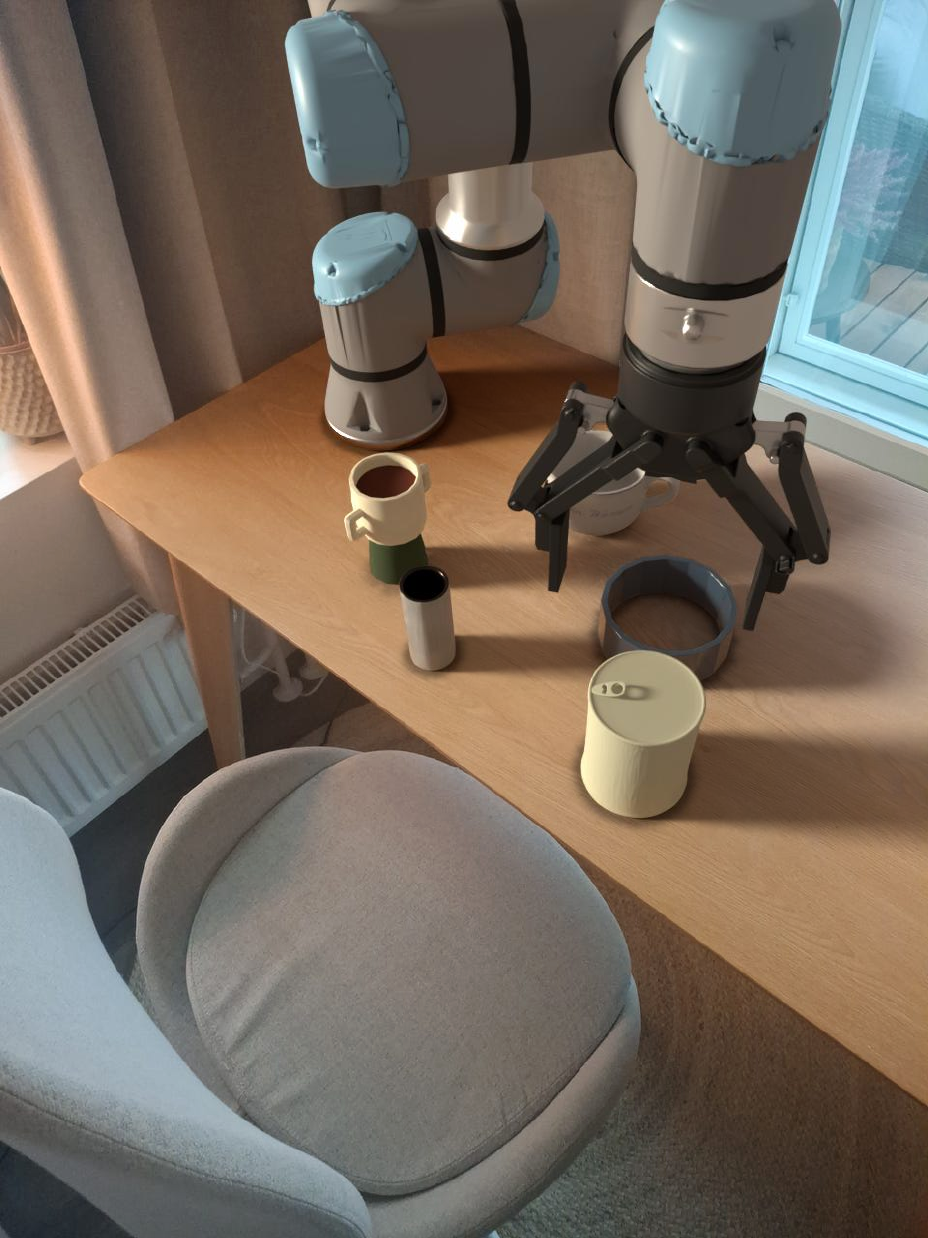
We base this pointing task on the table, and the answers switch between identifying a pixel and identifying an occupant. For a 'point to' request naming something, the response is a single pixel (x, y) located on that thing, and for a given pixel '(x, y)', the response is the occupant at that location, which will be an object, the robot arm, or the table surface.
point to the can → (641, 732)
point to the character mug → (389, 512)
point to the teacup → (610, 492)
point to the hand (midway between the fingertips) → (651, 596)
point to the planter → (428, 617)
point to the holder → (676, 580)
